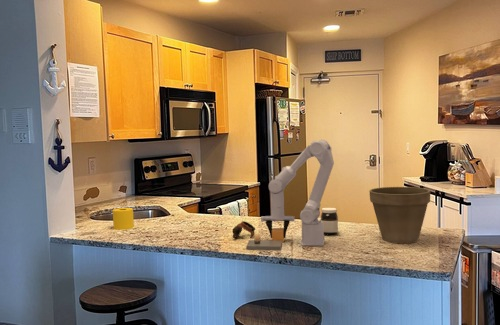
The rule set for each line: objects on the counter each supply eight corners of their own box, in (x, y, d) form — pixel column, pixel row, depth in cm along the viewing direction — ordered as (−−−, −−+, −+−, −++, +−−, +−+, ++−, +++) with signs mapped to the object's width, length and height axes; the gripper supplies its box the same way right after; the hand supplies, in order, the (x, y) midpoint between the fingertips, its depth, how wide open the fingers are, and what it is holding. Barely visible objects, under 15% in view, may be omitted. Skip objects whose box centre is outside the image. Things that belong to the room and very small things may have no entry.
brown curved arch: (237, 235, 215) (246, 220, 214) (252, 246, 210) (260, 231, 209) (223, 233, 204) (232, 218, 204) (238, 245, 200) (247, 229, 199)
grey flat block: (282, 243, 194) (281, 232, 194) (280, 250, 184) (280, 238, 184) (249, 243, 196) (249, 232, 196) (246, 249, 186) (246, 237, 186)
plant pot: (358, 236, 204) (357, 188, 202) (403, 230, 213) (403, 184, 211) (394, 249, 181) (394, 195, 179) (443, 243, 189) (443, 191, 188)
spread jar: (337, 236, 205) (337, 211, 204) (312, 236, 207) (312, 210, 206) (338, 230, 216) (337, 206, 215) (314, 230, 219) (313, 206, 218)
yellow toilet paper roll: (136, 225, 239) (135, 207, 238) (129, 229, 229) (128, 211, 228) (118, 225, 240) (117, 207, 239) (110, 229, 230) (109, 211, 229)
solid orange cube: (284, 239, 202) (283, 228, 201) (283, 242, 197) (283, 230, 196) (272, 239, 202) (272, 228, 202) (272, 242, 197) (271, 230, 197)
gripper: (294, 205, 201) (295, 235, 202) (261, 205, 203) (262, 235, 204) (294, 207, 194) (294, 239, 195) (260, 208, 196) (260, 239, 197)
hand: (278, 237), depth 199 cm, fingers closed on solid orange cube, 5 cm apart
